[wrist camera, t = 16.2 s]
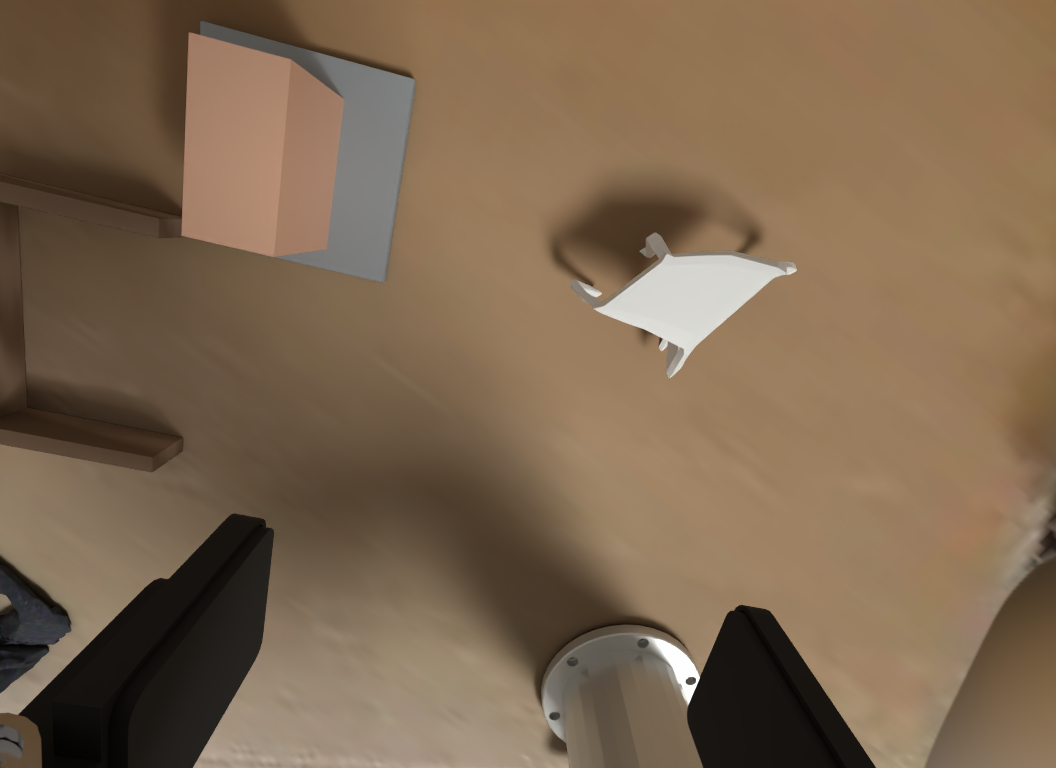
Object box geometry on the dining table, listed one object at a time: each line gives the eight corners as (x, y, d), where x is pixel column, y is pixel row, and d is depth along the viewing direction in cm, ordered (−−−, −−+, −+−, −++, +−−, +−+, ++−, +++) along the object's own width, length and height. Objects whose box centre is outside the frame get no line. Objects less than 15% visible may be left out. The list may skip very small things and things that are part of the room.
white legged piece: (617, 387, 34) (635, 414, 29) (561, 273, 31) (571, 281, 27) (789, 304, 32) (836, 317, 28) (744, 177, 30) (788, 169, 25)
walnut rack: (182, 451, 34) (152, 472, 31) (11, 418, 33) (-37, 437, 30) (193, 219, 30) (159, 218, 27) (-4, 172, 28) (-61, 167, 26)
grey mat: (385, 281, 31) (382, 282, 30) (196, 237, 30) (190, 238, 29) (416, 82, 28) (414, 79, 27) (206, 24, 27) (200, 20, 26)
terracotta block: (344, 99, 27) (291, 59, 21) (326, 249, 30) (274, 256, 23) (267, 79, 27) (188, 31, 20) (256, 233, 29) (181, 235, 23)
